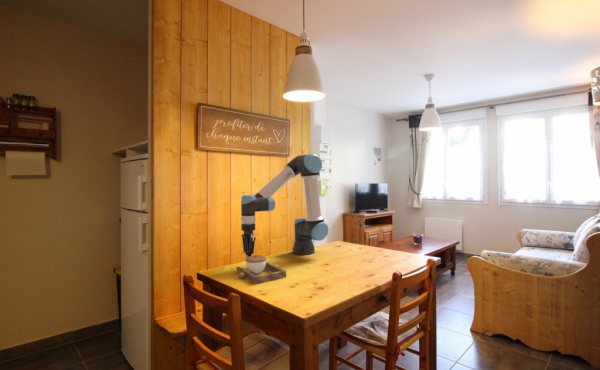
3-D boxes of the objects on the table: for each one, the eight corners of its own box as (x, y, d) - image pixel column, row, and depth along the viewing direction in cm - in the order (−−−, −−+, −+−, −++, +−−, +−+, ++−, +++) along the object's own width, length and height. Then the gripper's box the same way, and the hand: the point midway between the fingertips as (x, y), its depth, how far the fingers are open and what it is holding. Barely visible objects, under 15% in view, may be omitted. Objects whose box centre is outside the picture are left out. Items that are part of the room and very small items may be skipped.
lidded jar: (262, 276, 151) (262, 257, 150) (242, 275, 152) (242, 256, 152) (268, 269, 161) (268, 252, 161) (249, 269, 163) (249, 251, 163)
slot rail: (268, 266, 168) (268, 260, 168) (290, 275, 151) (290, 269, 150) (231, 273, 155) (231, 267, 155) (250, 285, 138) (250, 278, 138)
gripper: (237, 222, 166) (237, 264, 166) (247, 225, 155) (247, 270, 156) (249, 221, 170) (249, 262, 171) (260, 223, 160) (260, 267, 160)
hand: (248, 266), depth 163 cm, fingers closed
